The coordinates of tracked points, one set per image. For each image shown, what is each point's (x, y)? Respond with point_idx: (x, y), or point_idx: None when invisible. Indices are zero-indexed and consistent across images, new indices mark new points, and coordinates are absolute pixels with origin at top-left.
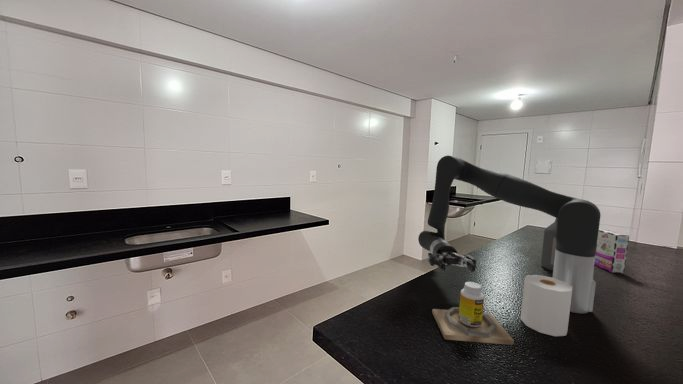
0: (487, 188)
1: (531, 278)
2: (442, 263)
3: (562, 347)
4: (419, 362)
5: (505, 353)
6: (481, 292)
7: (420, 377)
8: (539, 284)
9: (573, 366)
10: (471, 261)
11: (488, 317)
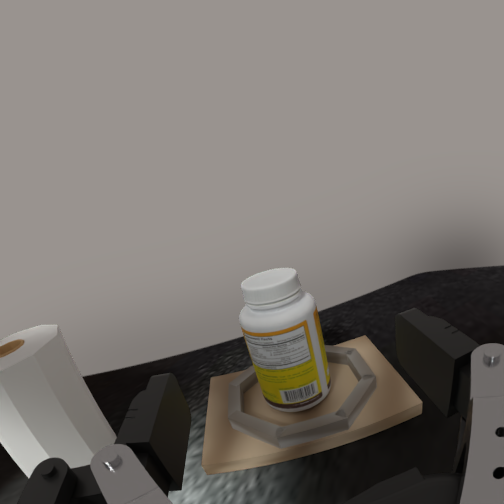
0: None
1: (13, 358)
2: (422, 316)
3: (116, 405)
4: (394, 297)
5: (246, 363)
6: (243, 312)
7: (385, 286)
8: (42, 336)
9: (146, 373)
10: (94, 478)
11: (233, 407)
